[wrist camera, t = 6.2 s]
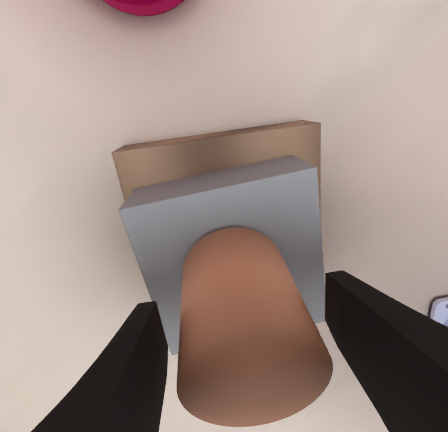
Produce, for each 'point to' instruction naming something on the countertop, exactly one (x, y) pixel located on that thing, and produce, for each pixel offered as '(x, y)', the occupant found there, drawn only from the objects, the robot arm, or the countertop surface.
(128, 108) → the countertop surface
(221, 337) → the cylinder
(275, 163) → the tower top
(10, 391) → the countertop surface
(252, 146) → the tower base
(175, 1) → the pepper mill
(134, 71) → the countertop surface
